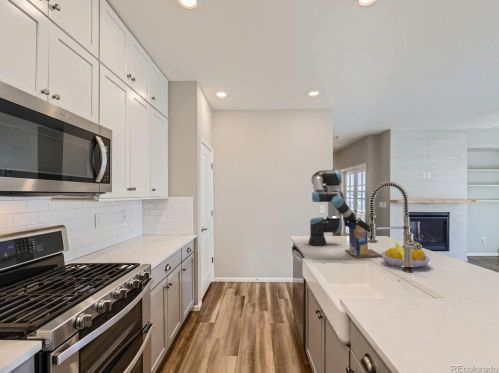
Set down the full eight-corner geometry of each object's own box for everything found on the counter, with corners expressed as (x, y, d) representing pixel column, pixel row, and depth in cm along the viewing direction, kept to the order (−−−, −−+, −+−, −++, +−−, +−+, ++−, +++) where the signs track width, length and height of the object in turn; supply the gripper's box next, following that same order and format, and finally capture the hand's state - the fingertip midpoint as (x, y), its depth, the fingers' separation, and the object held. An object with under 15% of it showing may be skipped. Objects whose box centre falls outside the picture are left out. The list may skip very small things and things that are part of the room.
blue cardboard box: (368, 253, 189) (367, 223, 189) (357, 255, 184) (356, 224, 184) (360, 251, 195) (359, 222, 195) (349, 253, 190) (348, 223, 190)
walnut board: (345, 251, 202) (345, 249, 202) (371, 251, 201) (371, 249, 201) (353, 257, 182) (353, 256, 182) (383, 257, 181) (383, 256, 181)
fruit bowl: (432, 273, 146) (431, 253, 146) (378, 267, 160) (377, 248, 160) (429, 261, 169) (428, 244, 170) (382, 256, 184) (382, 240, 184)
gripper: (331, 216, 194) (346, 234, 201) (359, 219, 172) (375, 239, 179) (336, 208, 197) (351, 227, 203) (364, 210, 175) (380, 231, 181)
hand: (362, 233), depth 191 cm, fingers open, 13 cm apart
